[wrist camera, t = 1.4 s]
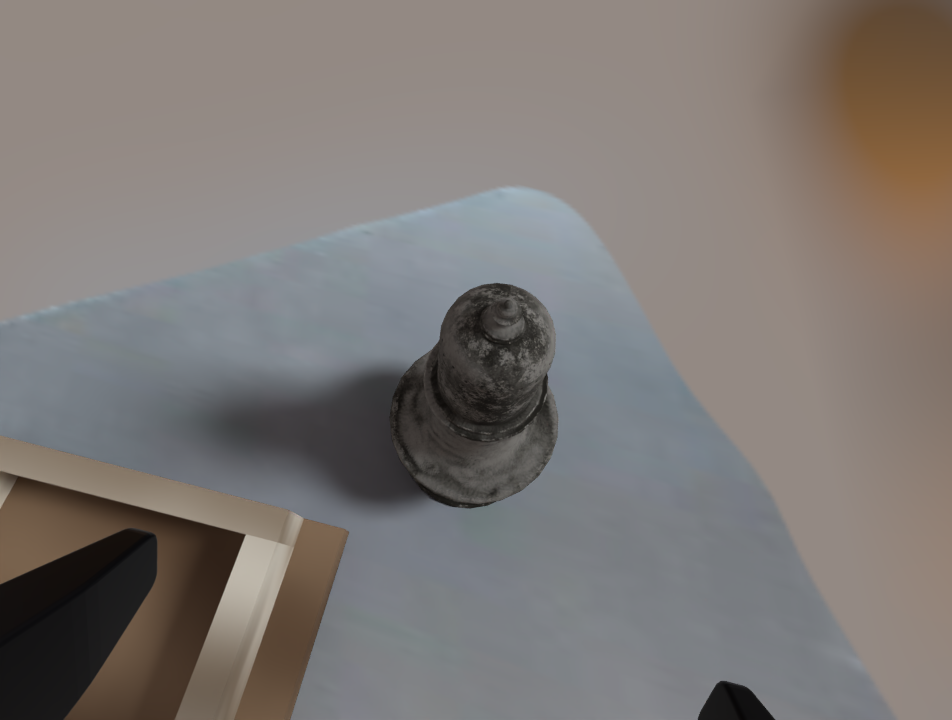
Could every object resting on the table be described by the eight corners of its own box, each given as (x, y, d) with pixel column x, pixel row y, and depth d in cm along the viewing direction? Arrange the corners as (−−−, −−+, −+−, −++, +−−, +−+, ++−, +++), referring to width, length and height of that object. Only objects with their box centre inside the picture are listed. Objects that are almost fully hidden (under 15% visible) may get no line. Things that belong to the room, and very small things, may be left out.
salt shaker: (376, 495, 22) (325, 399, 10) (416, 359, 24) (409, 161, 13) (524, 532, 22) (631, 474, 10) (550, 392, 24) (660, 222, 13)
